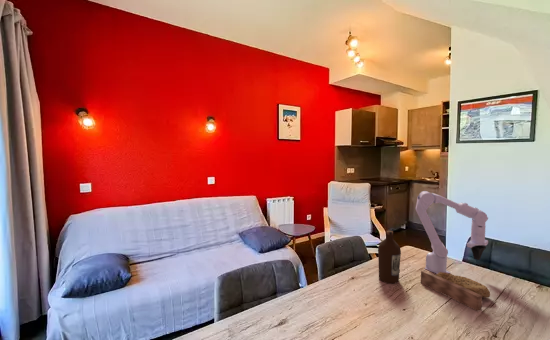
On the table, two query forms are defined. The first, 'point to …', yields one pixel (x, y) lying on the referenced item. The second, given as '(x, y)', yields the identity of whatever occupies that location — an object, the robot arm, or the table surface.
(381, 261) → the olive oil
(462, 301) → the walnut board
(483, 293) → the brown oblong lump
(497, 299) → the table surface
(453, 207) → the robot arm
